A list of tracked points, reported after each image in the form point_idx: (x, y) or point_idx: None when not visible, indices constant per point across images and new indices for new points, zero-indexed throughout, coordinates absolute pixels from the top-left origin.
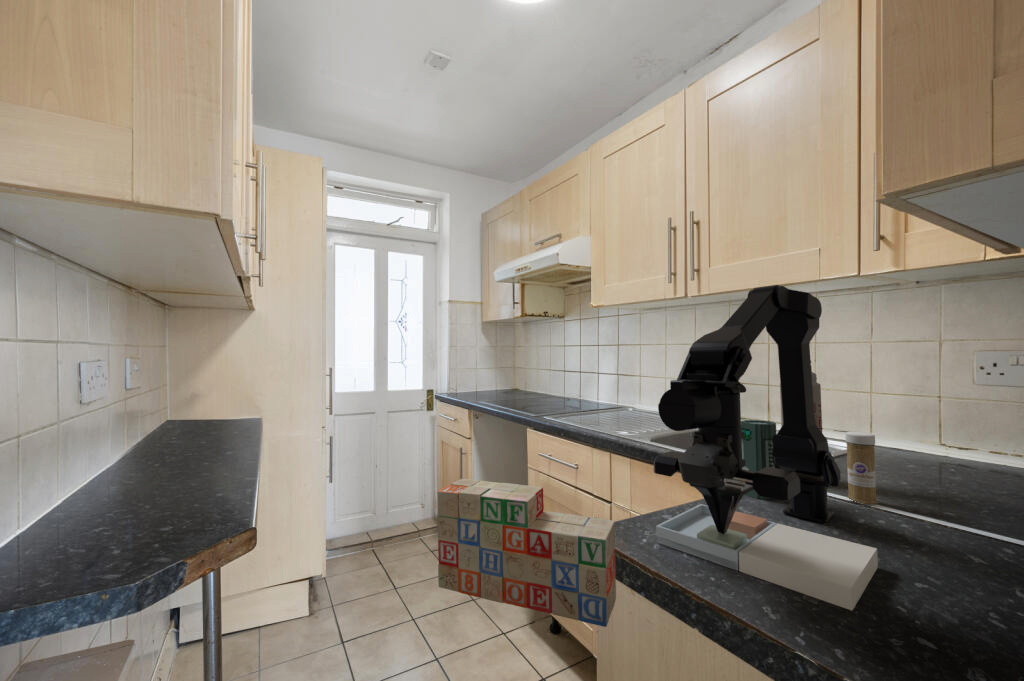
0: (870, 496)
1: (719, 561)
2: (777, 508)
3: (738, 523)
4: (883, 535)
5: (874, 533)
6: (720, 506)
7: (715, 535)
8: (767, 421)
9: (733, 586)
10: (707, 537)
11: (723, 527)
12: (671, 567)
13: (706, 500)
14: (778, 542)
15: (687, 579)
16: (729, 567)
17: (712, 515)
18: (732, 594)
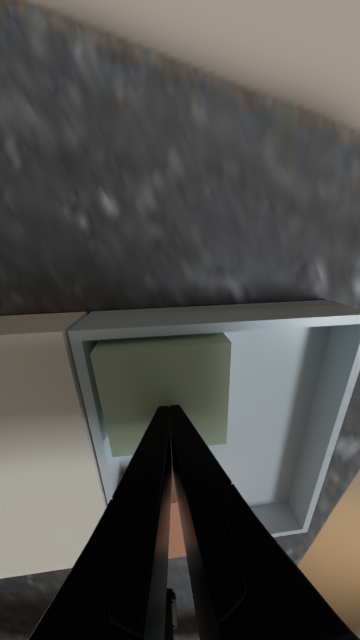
0: None
1: (142, 311)
2: (192, 598)
3: (173, 501)
4: (26, 620)
5: (38, 617)
6: (153, 543)
7: (175, 378)
8: None
9: (41, 204)
10: (189, 344)
11: (155, 422)
12: (230, 170)
13: (274, 556)
14: (40, 479)
15: (154, 123)
16: (114, 311)
17: (205, 452)
18: (7, 142)
